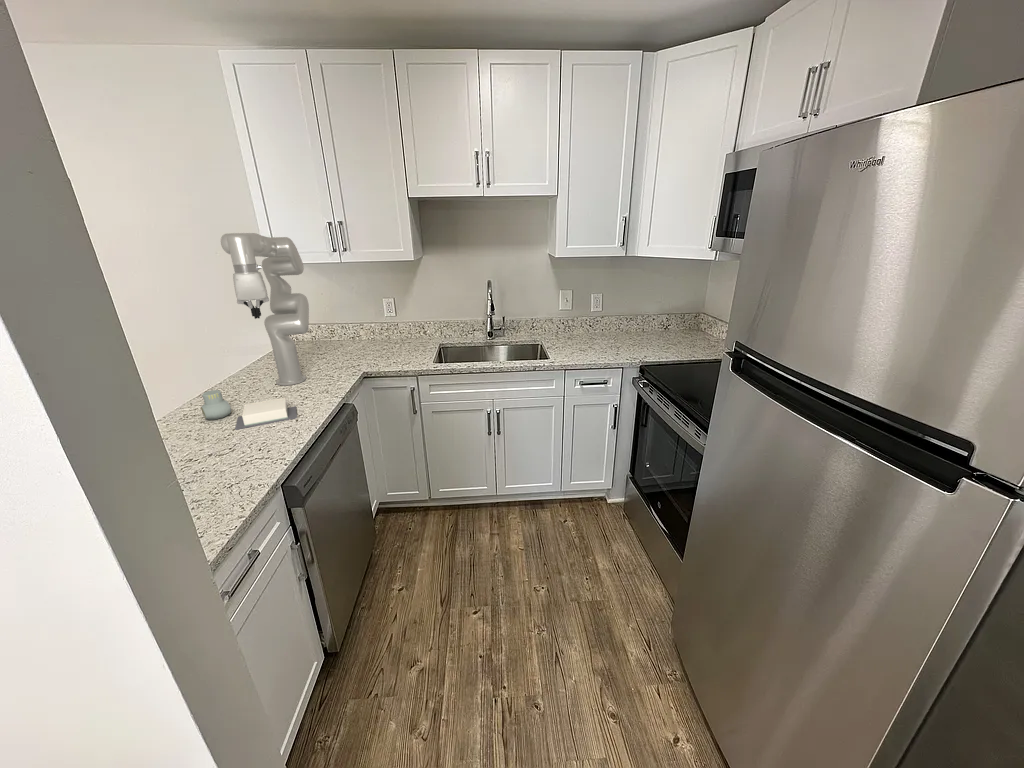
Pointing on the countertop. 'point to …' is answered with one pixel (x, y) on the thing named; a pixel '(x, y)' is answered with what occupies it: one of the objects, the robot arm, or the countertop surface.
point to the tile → (265, 411)
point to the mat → (291, 415)
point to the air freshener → (215, 405)
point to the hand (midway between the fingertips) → (257, 317)
